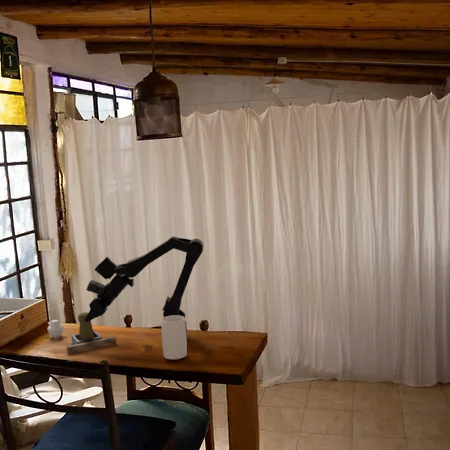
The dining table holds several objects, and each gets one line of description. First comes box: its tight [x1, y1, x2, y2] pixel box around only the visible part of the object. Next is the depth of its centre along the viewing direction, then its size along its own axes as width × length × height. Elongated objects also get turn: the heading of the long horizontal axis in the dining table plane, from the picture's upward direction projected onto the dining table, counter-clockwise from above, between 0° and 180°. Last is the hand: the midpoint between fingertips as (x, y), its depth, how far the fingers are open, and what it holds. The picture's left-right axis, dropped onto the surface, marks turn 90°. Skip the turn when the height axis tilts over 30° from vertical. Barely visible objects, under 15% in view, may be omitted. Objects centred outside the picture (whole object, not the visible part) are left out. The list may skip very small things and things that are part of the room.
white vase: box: [47, 319, 64, 339], centre depth 220 cm, size 6×6×7 cm
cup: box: [160, 315, 188, 360], centre depth 190 cm, size 8×8×14 cm
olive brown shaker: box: [77, 311, 94, 341], centre depth 210 cm, size 6×6×11 cm
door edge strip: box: [66, 336, 117, 355], centre depth 205 cm, size 18×2×2 cm, turn 119°
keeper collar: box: [71, 330, 103, 345], centre depth 211 cm, size 9×9×3 cm
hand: (88, 317), depth 210 cm, fingers open, 9 cm apart
